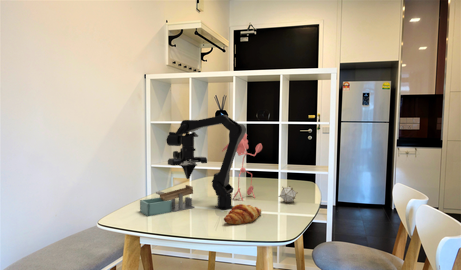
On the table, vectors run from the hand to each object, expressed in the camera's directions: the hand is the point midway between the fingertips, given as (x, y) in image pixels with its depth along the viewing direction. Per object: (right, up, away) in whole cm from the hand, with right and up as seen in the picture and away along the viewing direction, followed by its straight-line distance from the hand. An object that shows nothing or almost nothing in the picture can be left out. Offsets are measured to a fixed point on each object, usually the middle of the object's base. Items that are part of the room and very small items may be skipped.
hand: (187, 178), depth 143 cm
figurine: (+25, -12, +15) cm, 32 cm away
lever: (-7, -6, -4) cm, 10 cm away
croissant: (+26, -13, -24) cm, 38 cm away
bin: (-12, -12, -14) cm, 22 cm away
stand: (-3, -12, -7) cm, 14 cm away
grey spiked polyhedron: (+49, -13, +4) cm, 51 cm away
